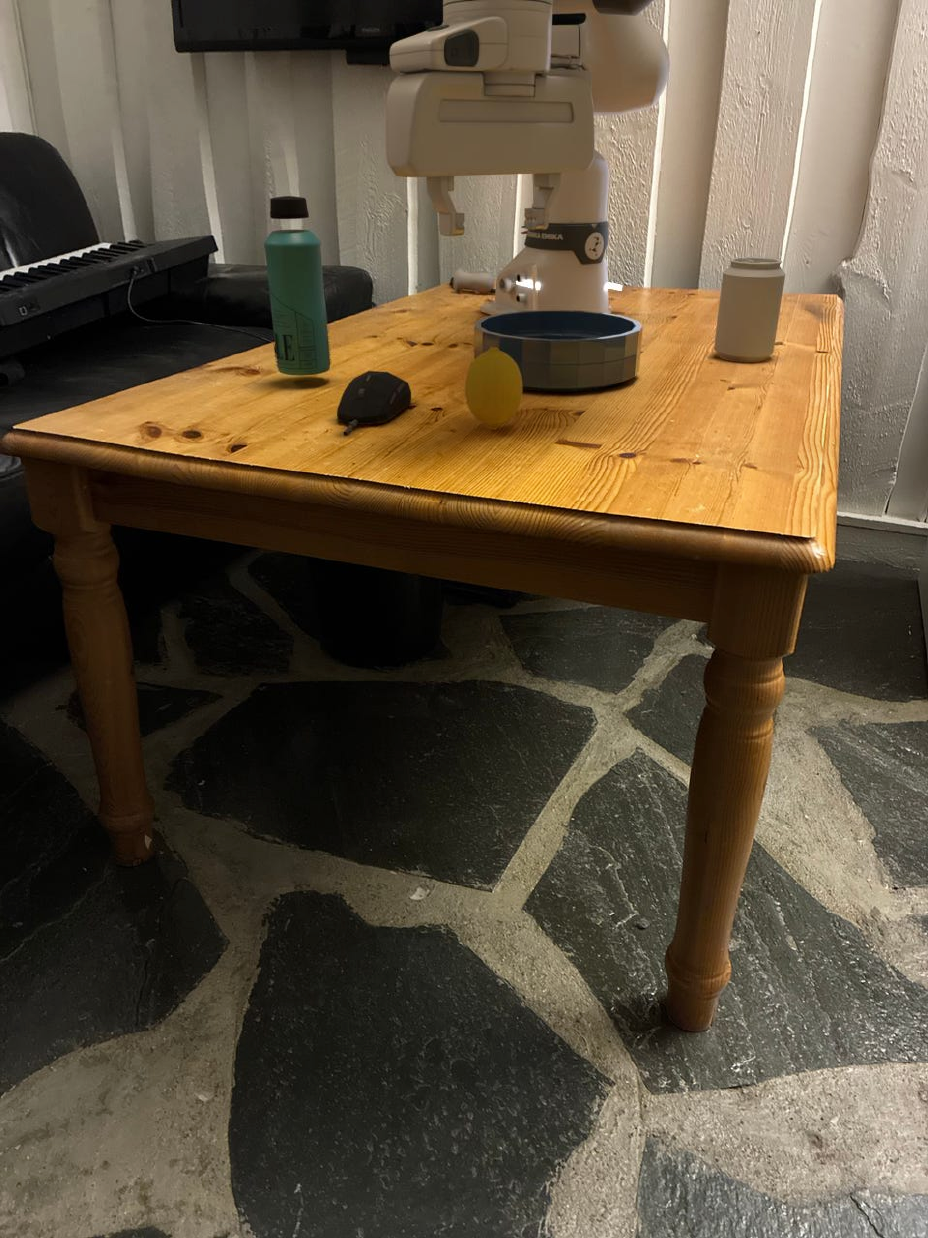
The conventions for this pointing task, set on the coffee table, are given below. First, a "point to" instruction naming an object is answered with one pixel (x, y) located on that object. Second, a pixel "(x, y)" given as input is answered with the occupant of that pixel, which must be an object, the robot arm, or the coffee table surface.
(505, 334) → the bowl
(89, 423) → the coffee table surface
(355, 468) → the coffee table surface
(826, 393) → the coffee table surface
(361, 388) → the gaming mouse
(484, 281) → the smooth white sculpture
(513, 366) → the lemon
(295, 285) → the beverage bottle
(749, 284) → the can
